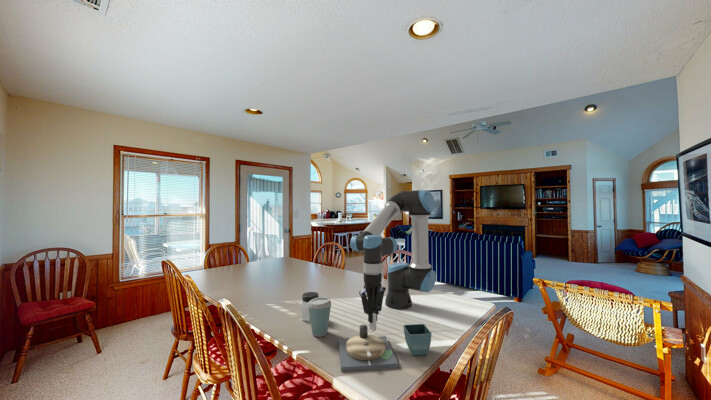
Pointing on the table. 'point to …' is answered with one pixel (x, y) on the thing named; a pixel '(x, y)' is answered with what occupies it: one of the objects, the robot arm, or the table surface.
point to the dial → (365, 345)
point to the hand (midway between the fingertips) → (372, 329)
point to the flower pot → (417, 338)
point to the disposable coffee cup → (319, 315)
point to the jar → (305, 299)
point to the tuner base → (356, 364)
